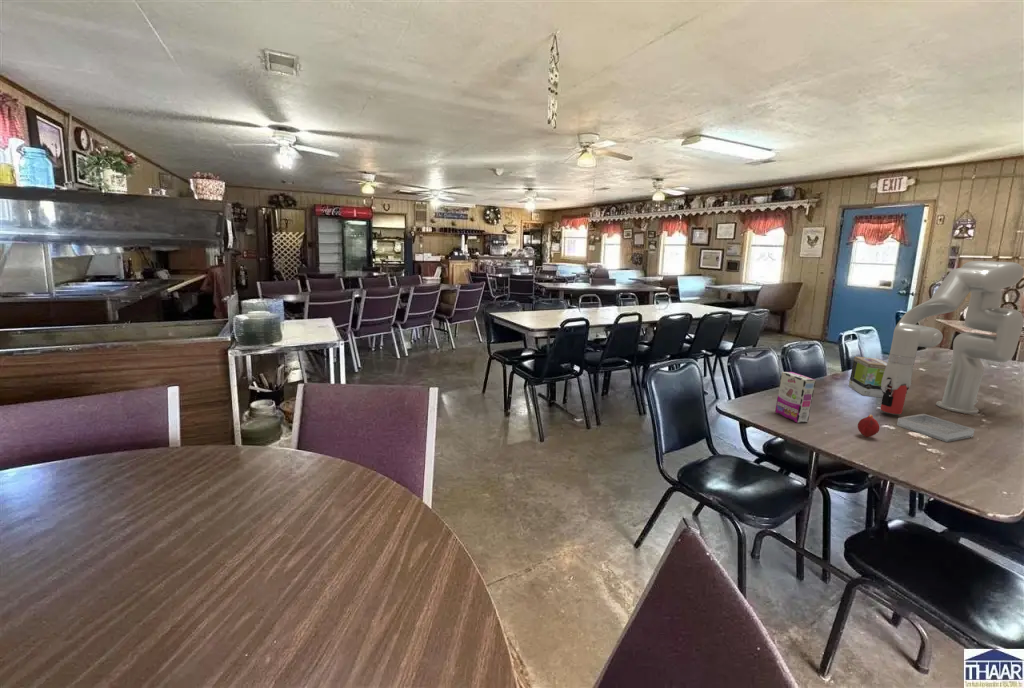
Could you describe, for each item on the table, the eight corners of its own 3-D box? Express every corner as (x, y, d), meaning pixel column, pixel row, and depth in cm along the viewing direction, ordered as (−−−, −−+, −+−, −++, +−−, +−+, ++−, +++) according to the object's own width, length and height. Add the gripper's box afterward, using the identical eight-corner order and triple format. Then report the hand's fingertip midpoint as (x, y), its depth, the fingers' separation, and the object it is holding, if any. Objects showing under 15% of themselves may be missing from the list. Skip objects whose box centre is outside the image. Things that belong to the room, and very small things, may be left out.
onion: (877, 442, 152) (883, 419, 150) (856, 437, 155) (861, 415, 153) (875, 436, 157) (880, 414, 155) (854, 432, 160) (859, 410, 158)
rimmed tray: (922, 421, 173) (924, 413, 172) (972, 437, 159) (974, 429, 158) (896, 425, 167) (898, 417, 167) (946, 442, 154) (948, 433, 153)
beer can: (902, 416, 173) (908, 386, 171) (880, 412, 177) (886, 382, 174) (901, 411, 178) (907, 381, 176) (879, 407, 182) (885, 378, 180)
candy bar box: (809, 422, 167) (817, 379, 163) (797, 423, 166) (805, 380, 162) (785, 411, 178) (792, 371, 174) (774, 412, 177) (781, 371, 173)
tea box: (888, 398, 199) (895, 365, 196) (861, 395, 201) (868, 363, 198) (872, 388, 213) (879, 357, 210) (847, 386, 216) (853, 355, 212)
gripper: (905, 355, 179) (896, 398, 183) (875, 359, 174) (867, 403, 178) (927, 360, 173) (917, 405, 177) (897, 364, 167) (888, 410, 171)
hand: (892, 403), depth 177 cm, fingers closed on beer can, 6 cm apart
